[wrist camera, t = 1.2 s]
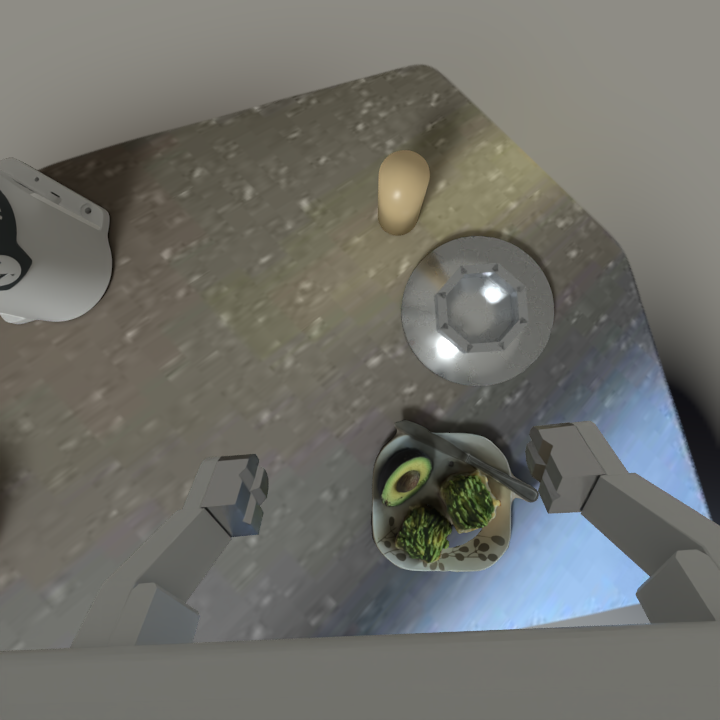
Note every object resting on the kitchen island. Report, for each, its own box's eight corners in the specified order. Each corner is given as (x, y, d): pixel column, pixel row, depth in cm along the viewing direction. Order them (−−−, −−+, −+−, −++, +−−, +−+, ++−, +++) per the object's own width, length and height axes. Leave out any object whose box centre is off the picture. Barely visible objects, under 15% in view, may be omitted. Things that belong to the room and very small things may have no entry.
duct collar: (371, 319, 43) (370, 316, 40) (466, 209, 42) (473, 197, 39) (482, 416, 42) (491, 419, 39) (580, 304, 42) (597, 299, 39)
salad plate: (533, 423, 42) (553, 430, 37) (529, 571, 42) (548, 596, 37) (374, 416, 43) (374, 422, 38) (369, 561, 42) (368, 585, 38)
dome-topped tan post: (369, 218, 43) (368, 178, 34) (395, 187, 43) (401, 139, 34) (400, 243, 43) (406, 210, 34) (426, 213, 43) (440, 171, 34)
